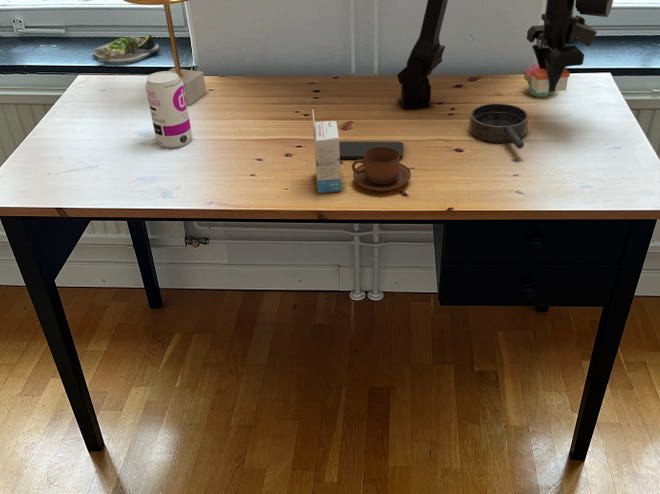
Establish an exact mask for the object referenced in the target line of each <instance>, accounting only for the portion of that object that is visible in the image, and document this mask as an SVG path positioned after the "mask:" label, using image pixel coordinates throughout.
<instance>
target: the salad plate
mask: <svg viewBox="0 0 660 494" xmlns="http://www.w3.org/2000/svg"><path fill="white" fill-rule="evenodd" d="M162 50H163V48H162V47H160V45H159V43H156V42H154V39H153V36H152V35H151V34H149V33H147V34H146V35H145V36H141V37H137V36H136V37H135V36H125V37H124V36H123V37H120V38H117V39H115V40H114V41H112V42H109V43H107V44H104V45H101V46H97V47H95V48H94V49H93V54H92V55H93V56H95V57H96V58H97V62H99V63H102V62H103V63H107V64H110V65H111V64H112V65H114V64H115V65H116V64H119V65H120V64H133V63H136V62H139V61H142V60H145V59H147V58H148V59H149V58H151V57H153V56H155V55H157V54H158V53H159V52H160V51H162Z"/></svg>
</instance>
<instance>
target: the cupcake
mask: <svg viewBox="0 0 660 494" xmlns="http://www.w3.org/2000/svg"><path fill="white" fill-rule="evenodd" d="M533 69H540V68H539V65H538V63H535V64H532V65H531V66H529V67H527V68H526V69H525V71H524V74H523V79H524V80H525V81H526V82H527V84H528V89H529V94H530V95H531V96H533V97H536V98H537V97H538V98H545V97H547V96H549V95H550V93H551V92H543V93H537V92H536V91H535V90H534V89H533V88H532V87H531V83H532V74H531V73H532V70H533Z"/></svg>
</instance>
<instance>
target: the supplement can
mask: <svg viewBox="0 0 660 494" xmlns="http://www.w3.org/2000/svg"><path fill="white" fill-rule="evenodd" d="M145 92H146V97H147V101H148V107H149V110H150V115H151V116H150V117H151V122H152V127H153V130H154V136H155V141H156V142H157V144H159V145H160V146H161V147H164V148H169V149H173V148H174V149H175V148H180V147H183V146H186V145H188V144H189V143H190V141H191V140H192V139H193V132H192V128H191V127H192V126H191V120H190V117H189V116H190V115H189V110H188V109H189V108H188V105H187V103H186V97H185V91H184V85H183V81H182V80H181V78H180V77H179V75H178V73H176V72H172V71H169V70H163V71H157V72H153V73H150V74H149V75H147V77H146V82H145Z"/></svg>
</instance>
